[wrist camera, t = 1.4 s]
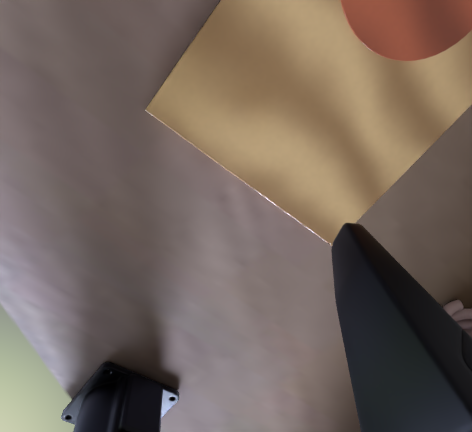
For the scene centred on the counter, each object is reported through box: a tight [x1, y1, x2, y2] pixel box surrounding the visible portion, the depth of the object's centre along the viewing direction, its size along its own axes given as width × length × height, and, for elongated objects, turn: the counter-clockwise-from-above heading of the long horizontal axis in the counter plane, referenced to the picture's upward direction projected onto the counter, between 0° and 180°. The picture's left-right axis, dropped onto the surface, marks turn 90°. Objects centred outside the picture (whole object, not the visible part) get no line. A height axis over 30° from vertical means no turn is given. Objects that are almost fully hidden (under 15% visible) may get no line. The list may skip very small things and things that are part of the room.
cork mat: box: [146, 0, 472, 246], centre depth 19 cm, size 20×14×1 cm
